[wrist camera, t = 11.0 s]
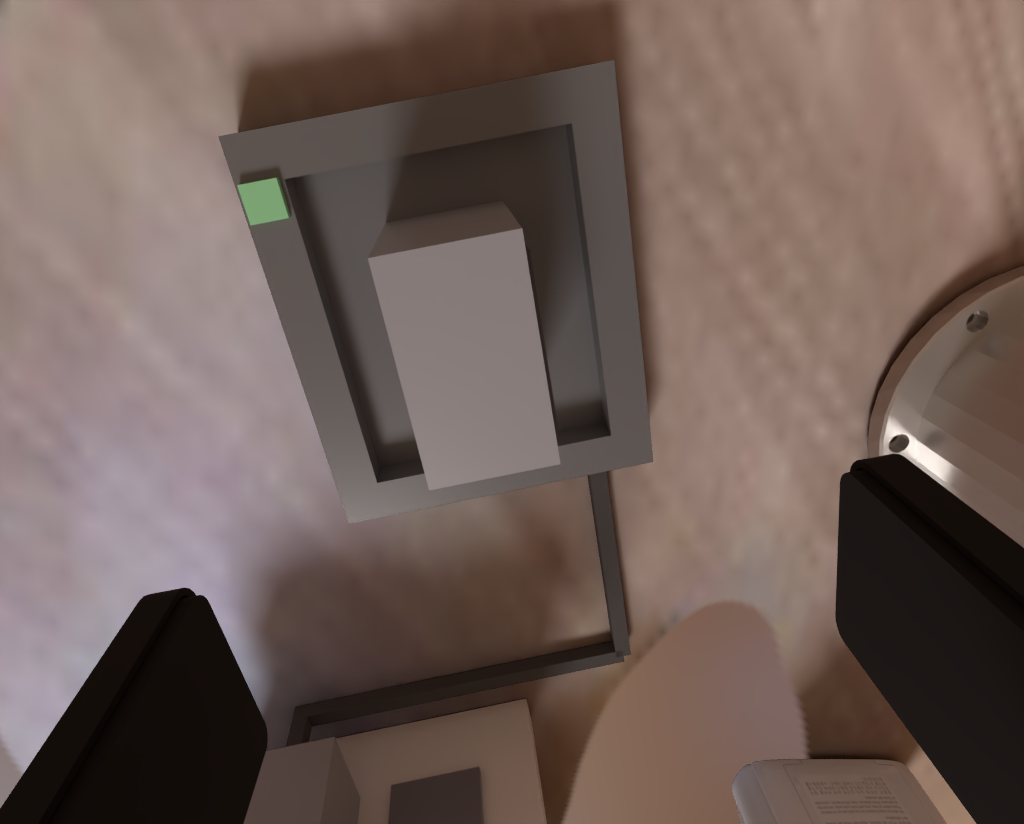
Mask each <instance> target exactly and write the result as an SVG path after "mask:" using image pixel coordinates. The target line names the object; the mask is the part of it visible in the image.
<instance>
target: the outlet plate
mask: <svg viewBox="0 0 1024 824" xmlns="http://www.w3.org/2000/svg"><path fill="white" fill-rule="evenodd" d="M244 824H547V821H546V815H545V808H544V801H543V795H542V788H541V781H540V775H539V768H538V761H537V754H536V748H535V741H534V734H533V728H532V721H531V717H530V712H529V708H528V704H527V699H522V700H517V701H512V702H507V703H503V704H498V705H493V706H488V707H483V708H479V709H474V710H469V711H464V712H460V713H455V714H450V715H445V716H440V717H436V718H431V719H426V720H421V721H417V722H412V723H407V724H402V725H397V726H393V727H388V728H383V729H378V730H374V731H369V732H364V733H359V734H354V735H350V736H345V737H340V738H335V737H331V738H326V739H321V740H317V741H312V742H307V743H302V744H297V745H293V746H288V747H283V748H278V749H274V750H269V751H266V753H265V756H264V759H263V762H262V766H261V769H260V772H259V775H258V779H257V782H256V785H255V788H254V792H253V795H252V798H251V801H250V804H249V808H248V811H247V814H246V817H245V821H244Z"/></svg>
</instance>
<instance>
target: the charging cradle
mask: <svg viewBox="0 0 1024 824" xmlns="http://www.w3.org/2000/svg"><path fill="white" fill-rule="evenodd" d="M218 137H219V140H220V143H221V146H222V149H223V152H224V155H225V157H226V160H227V163H228V166H229V169H230V172H231V175H232V178H233V181H234V184H235V187H236V190H237V193H238V196H239V199H240V202H241V205H242V208H243V211H244V214H245V217H246V220H247V223H248V226H249V229H250V232H251V235H252V238H253V241H254V243H255V246H256V249H257V252H258V255H259V258H260V261H261V264H262V267H263V270H264V273H265V276H266V279H267V282H268V285H269V288H270V291H271V294H272V297H273V300H274V303H275V306H276V309H277V312H278V315H279V318H280V321H281V324H282V327H283V329H284V332H285V335H286V338H287V341H288V344H289V347H290V350H291V353H292V356H293V359H294V362H295V365H296V368H297V371H298V374H299V377H300V380H301V383H302V386H303V389H304V392H305V395H306V398H307V401H308V404H309V407H310V410H311V412H312V415H313V418H314V421H315V424H316V427H317V430H318V433H319V436H320V439H321V442H322V445H323V448H324V451H325V454H326V457H327V460H328V463H329V466H330V469H331V472H332V475H333V478H334V481H335V484H336V487H337V490H338V493H339V496H340V498H341V501H342V504H343V507H344V510H345V513H346V516H347V519H348V522H349V524H351V523H355V522H360V521H365V520H370V519H375V518H380V517H385V516H390V515H395V514H400V513H404V512H409V511H414V510H419V509H424V508H429V507H434V506H439V505H444V504H449V503H453V502H458V501H463V500H468V499H473V498H478V497H483V496H488V495H493V494H498V493H503V492H507V491H512V490H517V489H522V488H527V487H532V486H537V485H542V484H547V483H552V482H556V481H561V480H566V479H571V478H576V477H581V476H586V475H591V474H596V473H601V472H605V471H610V470H615V469H620V468H625V467H630V466H635V465H640V464H645V463H650V462H653V454H652V444H651V433H650V423H649V413H648V402H647V392H646V382H645V372H644V361H643V351H642V341H641V330H640V320H639V310H638V299H637V289H636V279H635V269H634V258H633V248H632V238H631V227H630V217H629V207H628V196H627V186H626V176H625V166H624V155H623V145H622V135H621V124H620V114H619V104H618V93H617V83H616V73H615V63H614V60H611V61H605V62H600V63H595V64H590V65H585V66H580V67H574V68H569V69H564V70H559V71H554V72H549V73H543V74H538V75H533V76H528V77H523V78H518V79H513V80H507V81H502V82H497V83H492V84H487V85H482V86H476V87H471V88H466V89H461V90H456V91H451V92H445V93H440V94H435V95H430V96H425V97H420V98H414V99H409V100H404V101H399V102H394V103H389V104H383V105H378V106H373V107H368V108H363V109H358V110H353V111H347V112H342V113H337V114H332V115H327V116H322V117H316V118H311V119H306V120H301V121H296V122H291V123H285V124H280V125H275V126H270V127H265V128H260V129H254V130H249V131H244V132H239V133H234V134H229V135H224V136H218ZM502 200H503V202H504V203H505V205H506V206H507V207H508V209H509V210H510V212H511V213H512V214H513V216H514V217H515V219H516V220H517V221H518V223H519V224H520V226H521V227H522V229H523V236H524V242H525V244H526V245H527V247H528V248H529V250H530V254H531V260H532V266H533V272H534V279H535V285H536V291H537V297H538V304H539V310H540V316H541V323H542V329H543V335H544V341H545V348H546V354H547V360H548V366H549V373H550V379H551V385H552V391H553V398H554V404H555V410H556V416H557V423H558V429H559V435H558V436H556V439H557V445H558V451H559V457H560V464H559V465H554V466H549V467H544V468H539V469H534V470H529V471H524V472H519V473H514V474H509V475H504V476H499V477H494V478H489V479H484V480H479V481H474V482H469V483H464V484H459V485H454V486H449V487H444V488H439V489H434V490H429V488H428V484H427V480H426V477H425V473H424V469H423V465H422V462H421V458H420V454H419V450H418V446H417V443H416V439H415V435H414V431H413V428H412V424H411V420H410V416H409V412H408V409H407V405H406V401H405V397H404V393H403V390H402V386H401V382H400V378H399V375H398V371H397V367H396V363H395V359H394V356H393V352H392V348H391V344H390V341H389V337H388V333H387V329H386V325H385V322H384V318H383V314H382V310H381V307H380V303H379V299H378V295H377V291H376V288H375V284H374V280H373V276H372V273H371V269H370V265H369V261H368V257H369V255H370V253H371V251H372V249H373V247H374V245H375V243H376V241H377V239H378V237H379V235H380V233H381V231H382V229H383V227H384V225H385V223H388V222H393V221H398V220H403V219H409V218H414V217H419V216H424V215H429V214H434V213H440V212H445V211H450V210H455V209H460V208H465V207H471V206H476V205H481V204H486V203H491V202H496V201H502Z"/></svg>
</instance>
